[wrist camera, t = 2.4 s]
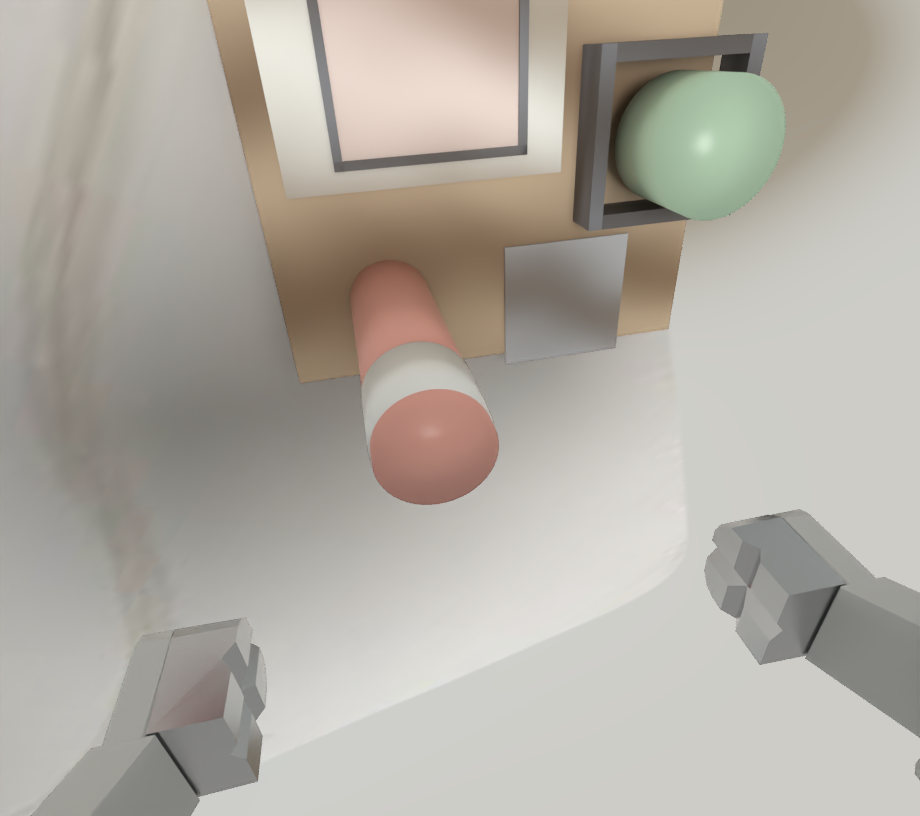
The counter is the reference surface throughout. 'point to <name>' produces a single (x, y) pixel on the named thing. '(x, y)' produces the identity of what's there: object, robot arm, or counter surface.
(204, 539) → the counter surface
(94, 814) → the robot arm
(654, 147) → the button
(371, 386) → the marker
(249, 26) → the picture board
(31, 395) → the counter surface
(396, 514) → the counter surface
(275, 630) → the counter surface
